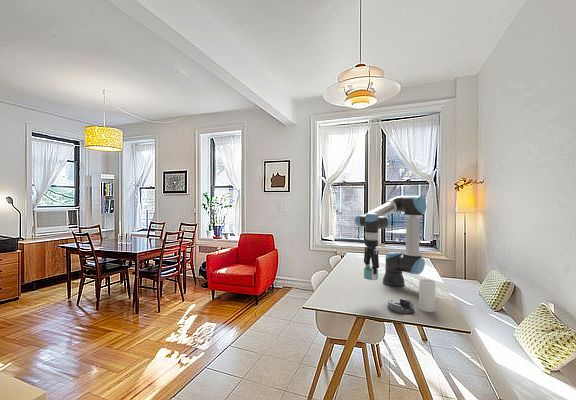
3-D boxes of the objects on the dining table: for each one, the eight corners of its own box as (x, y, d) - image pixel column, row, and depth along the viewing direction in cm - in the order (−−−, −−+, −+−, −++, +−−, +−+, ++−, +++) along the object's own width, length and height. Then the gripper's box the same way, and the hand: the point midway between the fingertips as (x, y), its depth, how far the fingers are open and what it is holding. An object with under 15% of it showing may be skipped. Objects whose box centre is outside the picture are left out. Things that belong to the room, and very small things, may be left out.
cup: (416, 306, 166) (416, 279, 166) (429, 306, 167) (430, 279, 167) (423, 312, 158) (424, 283, 158) (438, 312, 159) (438, 283, 158)
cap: (373, 275, 176) (373, 266, 176) (380, 279, 168) (380, 269, 168) (361, 276, 174) (361, 266, 174) (367, 280, 166) (368, 270, 166)
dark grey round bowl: (404, 304, 170) (405, 297, 170) (419, 313, 156) (419, 306, 156) (382, 305, 168) (383, 298, 167) (395, 314, 154) (395, 307, 154)
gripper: (358, 236, 181) (357, 272, 181) (373, 242, 160) (372, 282, 160) (369, 236, 182) (369, 272, 182) (386, 241, 161) (385, 282, 161)
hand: (370, 277), depth 171 cm, fingers closed on cap, 8 cm apart
